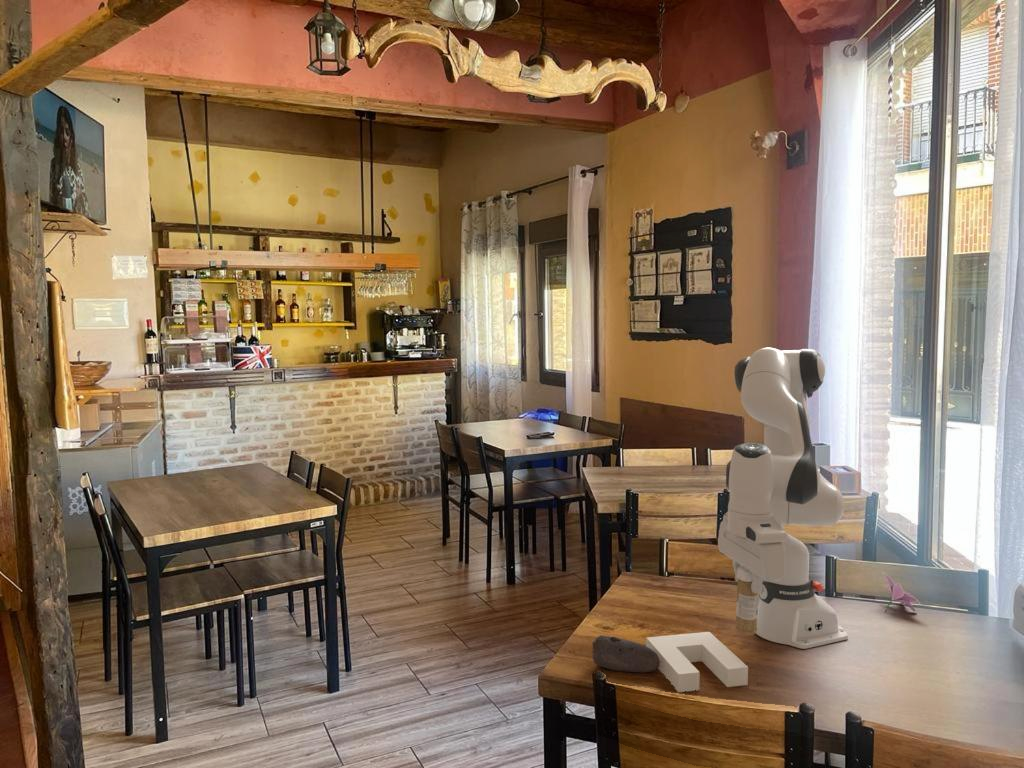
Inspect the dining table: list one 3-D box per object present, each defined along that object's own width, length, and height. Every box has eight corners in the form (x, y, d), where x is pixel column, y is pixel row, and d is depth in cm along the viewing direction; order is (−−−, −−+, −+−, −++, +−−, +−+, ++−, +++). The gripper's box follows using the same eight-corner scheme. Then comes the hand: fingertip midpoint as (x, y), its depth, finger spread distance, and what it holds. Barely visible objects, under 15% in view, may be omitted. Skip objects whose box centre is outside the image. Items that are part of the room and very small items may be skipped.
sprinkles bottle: (740, 623, 156) (742, 563, 154) (760, 630, 153) (763, 568, 151) (731, 631, 152) (733, 569, 151) (752, 637, 149) (754, 575, 148)
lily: (919, 627, 187) (934, 593, 188) (873, 604, 190) (888, 571, 191) (904, 623, 199) (918, 591, 200) (861, 601, 202) (875, 570, 203)
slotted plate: (708, 647, 173) (709, 631, 173) (747, 684, 156) (748, 667, 155) (646, 653, 170) (646, 637, 170) (678, 692, 153) (678, 674, 152)
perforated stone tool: (661, 669, 163) (661, 640, 162) (658, 680, 158) (658, 650, 157) (595, 659, 167) (596, 630, 167) (590, 670, 163) (591, 640, 162)
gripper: (711, 509, 159) (710, 570, 161) (762, 538, 140) (760, 607, 141) (737, 508, 161) (735, 568, 162) (792, 536, 141) (789, 604, 142)
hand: (747, 586), depth 151 cm, fingers closed on sprinkles bottle, 4 cm apart
